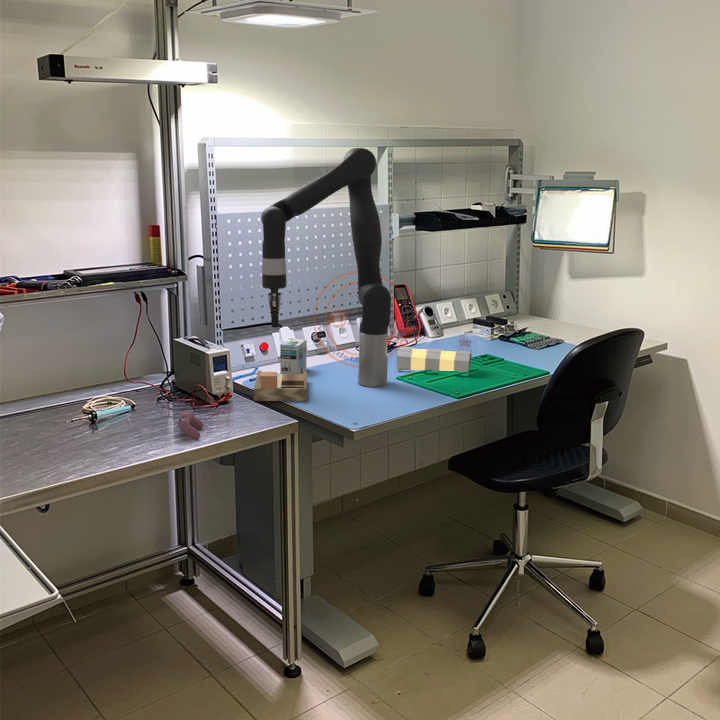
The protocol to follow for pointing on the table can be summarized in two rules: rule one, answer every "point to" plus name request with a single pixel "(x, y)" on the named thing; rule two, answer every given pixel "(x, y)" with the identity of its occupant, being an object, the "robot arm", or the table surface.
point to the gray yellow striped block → (434, 358)
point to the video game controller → (189, 424)
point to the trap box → (283, 388)
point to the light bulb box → (293, 356)
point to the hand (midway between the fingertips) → (275, 326)
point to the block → (268, 380)
